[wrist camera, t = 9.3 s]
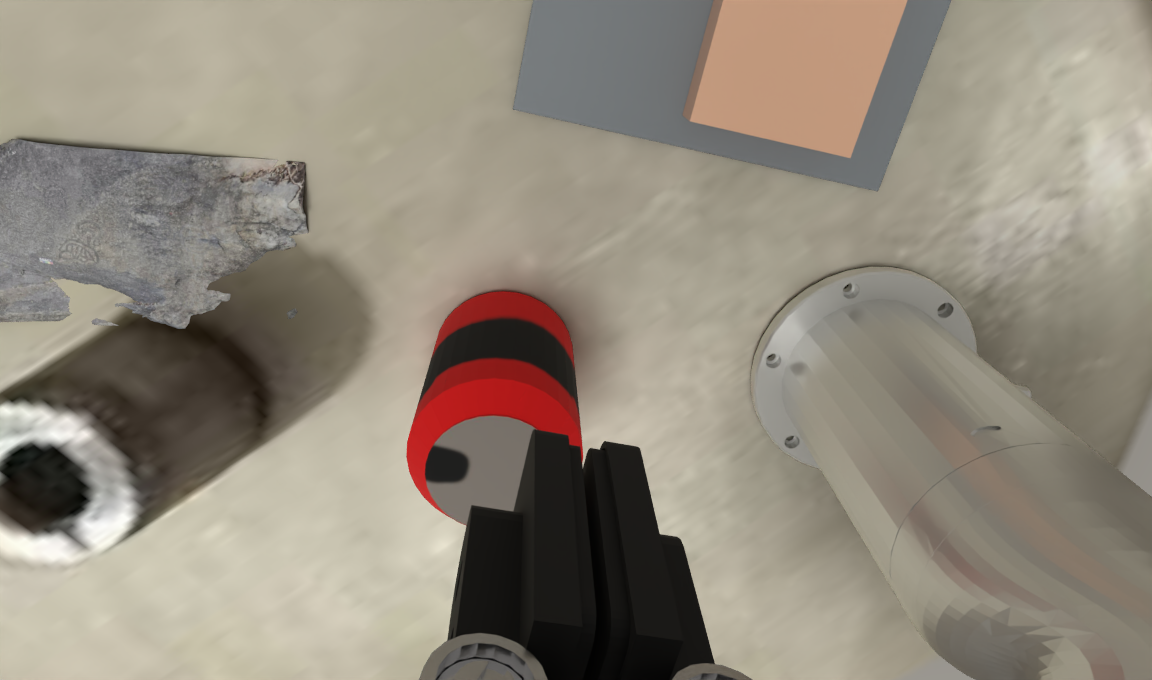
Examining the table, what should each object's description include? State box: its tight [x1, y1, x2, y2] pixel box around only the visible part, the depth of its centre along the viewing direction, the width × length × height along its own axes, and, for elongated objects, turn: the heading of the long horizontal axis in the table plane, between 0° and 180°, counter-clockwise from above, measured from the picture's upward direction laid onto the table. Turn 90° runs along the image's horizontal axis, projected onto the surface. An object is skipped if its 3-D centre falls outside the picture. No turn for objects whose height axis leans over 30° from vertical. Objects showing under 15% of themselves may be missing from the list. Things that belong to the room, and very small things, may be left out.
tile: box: [683, 0, 908, 158], centre depth 35 cm, size 2×9×8 cm
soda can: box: [407, 291, 583, 526], centre depth 37 cm, size 8×8×12 cm
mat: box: [513, 0, 951, 191], centre depth 36 cm, size 19×11×1 cm, turn 77°
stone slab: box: [0, 139, 308, 329], centre depth 39 cm, size 18×2×10 cm
